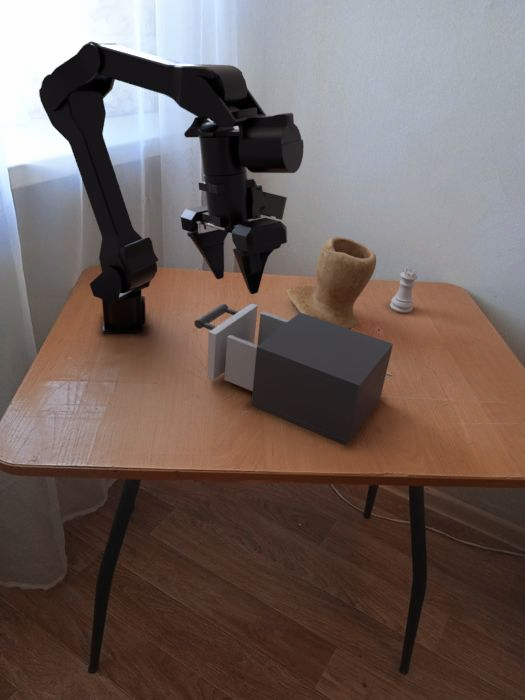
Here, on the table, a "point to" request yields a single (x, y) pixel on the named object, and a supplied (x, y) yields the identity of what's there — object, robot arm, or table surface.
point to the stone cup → (336, 282)
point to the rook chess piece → (404, 292)
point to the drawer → (236, 342)
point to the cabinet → (320, 376)
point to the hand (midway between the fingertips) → (236, 285)
